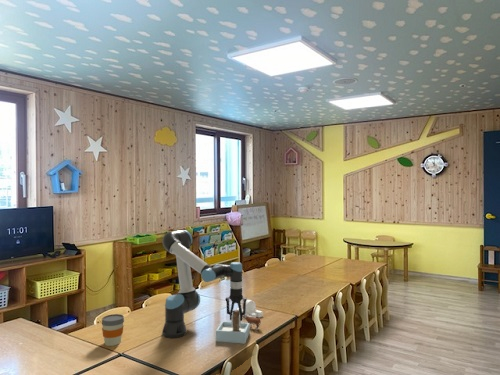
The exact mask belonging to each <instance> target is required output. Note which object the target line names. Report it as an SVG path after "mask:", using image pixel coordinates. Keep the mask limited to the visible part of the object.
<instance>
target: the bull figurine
mask: <svg viewBox="0 0 500 375" xmlns="http://www.w3.org/2000/svg"><path fill="white" fill-rule="evenodd" d="M244 316H245V317H244ZM244 316H243V317H244V318H246V323H249V328H250V327H251V328H252V326H256V327H255V330H256V331H258V330H259V327H260V326H261V319H260V318H259V317H258V318H257V317H256V318H254V317H252V316H250V315H248V314H246V315H244Z"/></svg>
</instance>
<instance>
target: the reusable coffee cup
mask: <svg viewBox="0 0 500 375" xmlns="http://www.w3.org/2000/svg"><path fill="white" fill-rule="evenodd" d="M124 322H125V318H124V315H123V314H119V313H118V314H117V313H115V314H107V315H105V316H103V317H102V320H101V326H102V328H101V332H102V336H103V339H104V345H105V346H106V347H107V346H108V347H113V346H117V345H120V343H122V337H123V336H122V335H123V333H124V326H125V325H124Z"/></svg>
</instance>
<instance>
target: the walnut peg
mask: <svg viewBox="0 0 500 375" xmlns="http://www.w3.org/2000/svg"><path fill="white" fill-rule="evenodd" d="M232 314H233V331H238V332H239V310H236V309H235V310H234V309H233V313H232Z"/></svg>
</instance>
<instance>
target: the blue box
mask: <svg viewBox="0 0 500 375" xmlns="http://www.w3.org/2000/svg"><path fill="white" fill-rule="evenodd" d="M249 335H250V324H249V323H248V322H241V326H240V327H239V332H238V331H233V326H231V321H225V320H224V321H223V320H222V321H221V322H220V323H219V325H218V327H217V328H216V330H215V342H219V343H234V344H246V342H247V341H248V337H249Z"/></svg>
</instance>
